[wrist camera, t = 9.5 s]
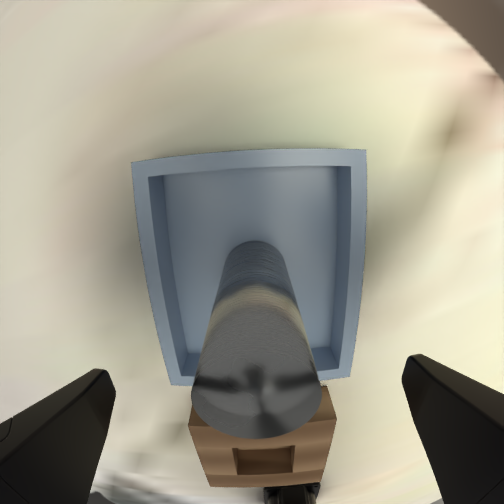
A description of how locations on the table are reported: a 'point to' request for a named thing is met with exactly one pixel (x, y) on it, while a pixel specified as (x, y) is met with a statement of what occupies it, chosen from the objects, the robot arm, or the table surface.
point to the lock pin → (256, 351)
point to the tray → (254, 229)
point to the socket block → (266, 452)
